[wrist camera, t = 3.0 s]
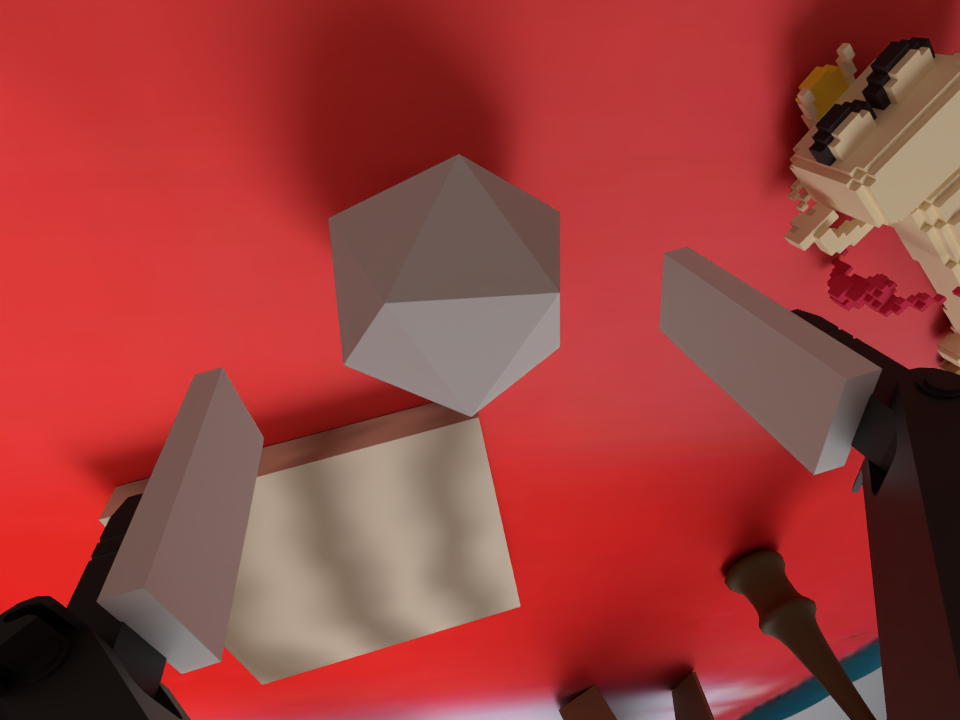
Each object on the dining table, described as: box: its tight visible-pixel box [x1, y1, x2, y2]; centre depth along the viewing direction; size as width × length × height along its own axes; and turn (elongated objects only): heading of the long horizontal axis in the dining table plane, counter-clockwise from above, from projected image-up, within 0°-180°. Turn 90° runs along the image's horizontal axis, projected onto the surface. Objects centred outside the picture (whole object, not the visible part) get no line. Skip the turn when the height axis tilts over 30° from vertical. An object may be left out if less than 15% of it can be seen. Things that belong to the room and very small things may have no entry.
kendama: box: [725, 550, 876, 720], centre depth 34 cm, size 6×10×20 cm, turn 132°
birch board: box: [99, 402, 521, 685], centre depth 29 cm, size 18×18×2 cm
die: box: [328, 154, 560, 417], centre depth 18 cm, size 8×9×10 cm
